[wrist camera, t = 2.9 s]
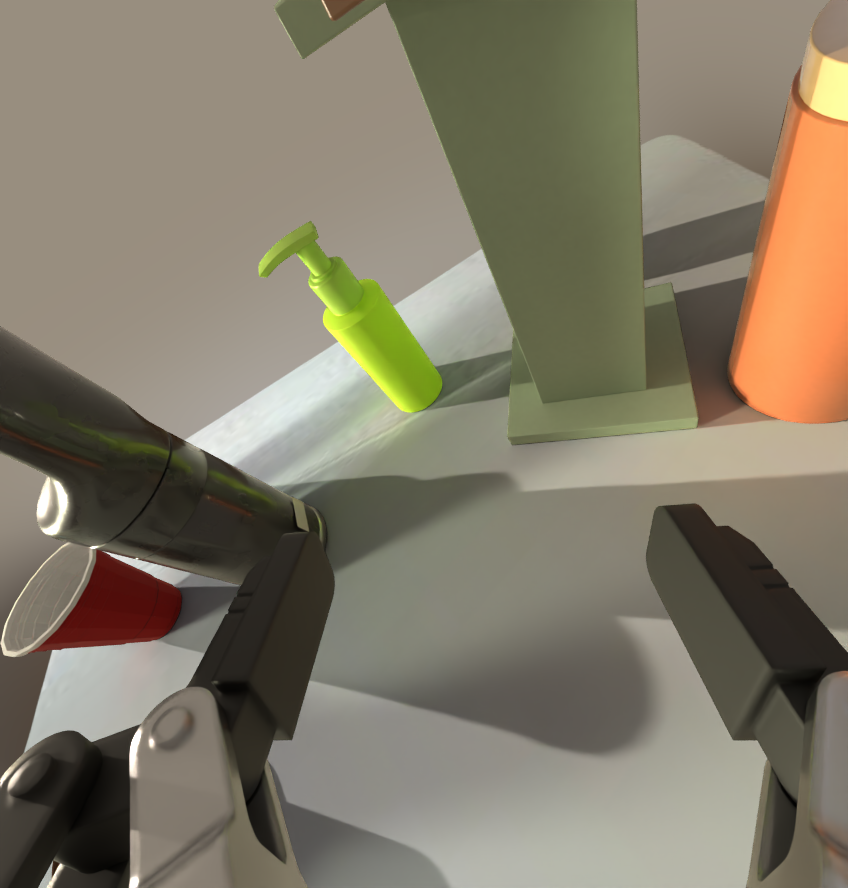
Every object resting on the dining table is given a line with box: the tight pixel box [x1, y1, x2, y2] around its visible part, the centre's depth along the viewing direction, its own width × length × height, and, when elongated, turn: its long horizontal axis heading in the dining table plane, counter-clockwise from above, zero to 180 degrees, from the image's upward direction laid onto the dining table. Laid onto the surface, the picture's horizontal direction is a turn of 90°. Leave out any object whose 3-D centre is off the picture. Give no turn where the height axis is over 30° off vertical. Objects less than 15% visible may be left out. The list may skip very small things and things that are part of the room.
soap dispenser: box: [259, 221, 442, 412], centre depth 37 cm, size 6×7×20 cm
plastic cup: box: [1, 542, 182, 657], centre depth 42 cm, size 11×11×12 cm
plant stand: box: [274, 0, 699, 445], centre depth 25 cm, size 14×14×30 cm
